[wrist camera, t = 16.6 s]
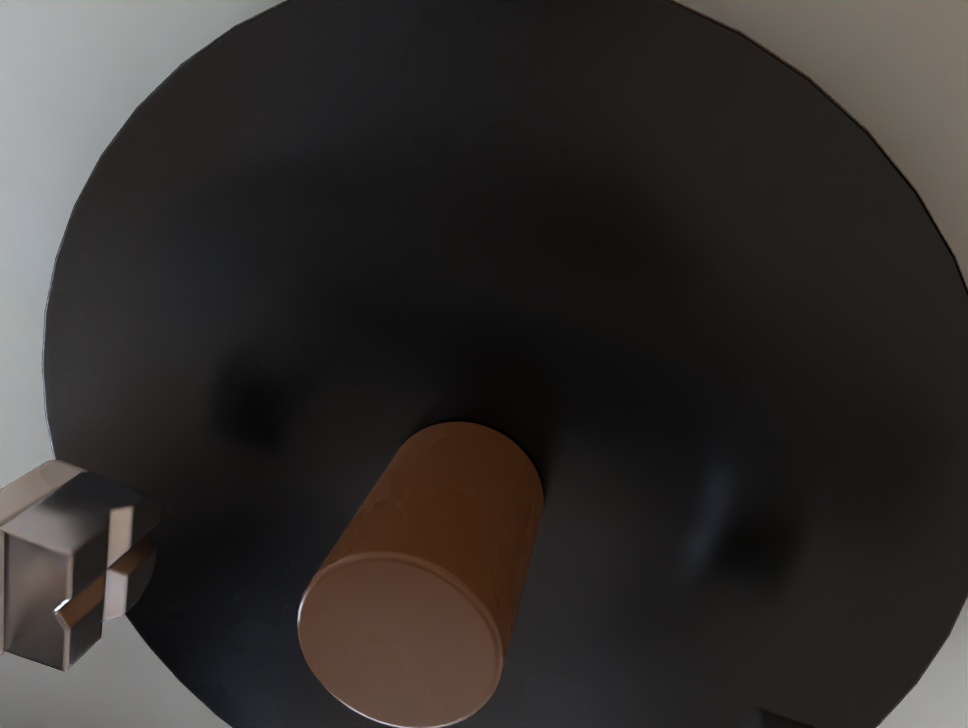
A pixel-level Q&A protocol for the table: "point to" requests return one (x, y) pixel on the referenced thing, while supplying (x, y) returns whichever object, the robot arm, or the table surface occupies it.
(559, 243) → the lid
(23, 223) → the table surface
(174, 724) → the table surface
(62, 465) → the robot arm
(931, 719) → the table surface
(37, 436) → the table surface
